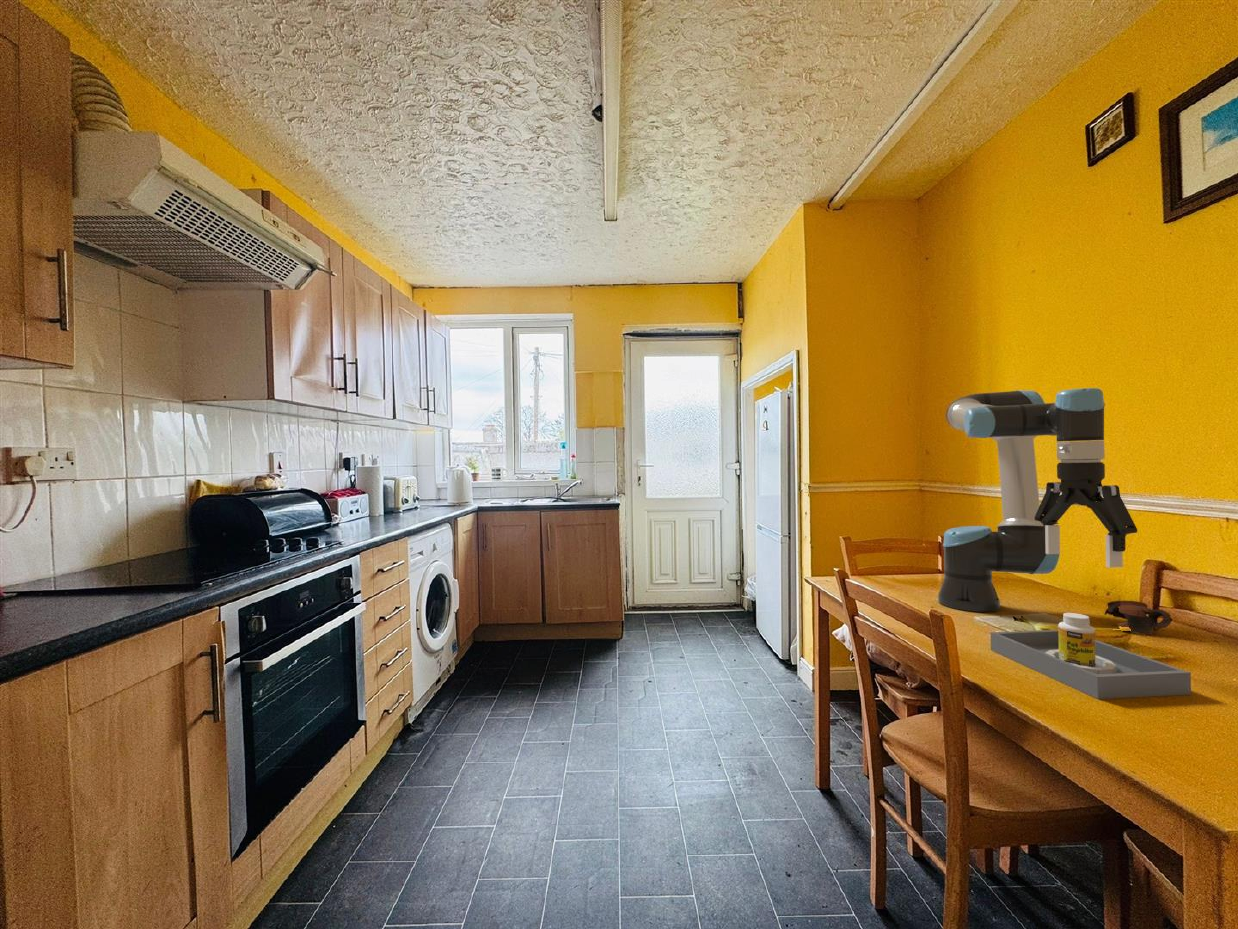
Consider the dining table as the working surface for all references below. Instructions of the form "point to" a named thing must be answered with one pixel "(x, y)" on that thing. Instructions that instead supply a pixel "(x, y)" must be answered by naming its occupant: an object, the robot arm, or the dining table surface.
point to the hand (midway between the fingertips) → (1081, 560)
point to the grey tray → (1109, 677)
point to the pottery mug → (1138, 616)
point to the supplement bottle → (1076, 640)
